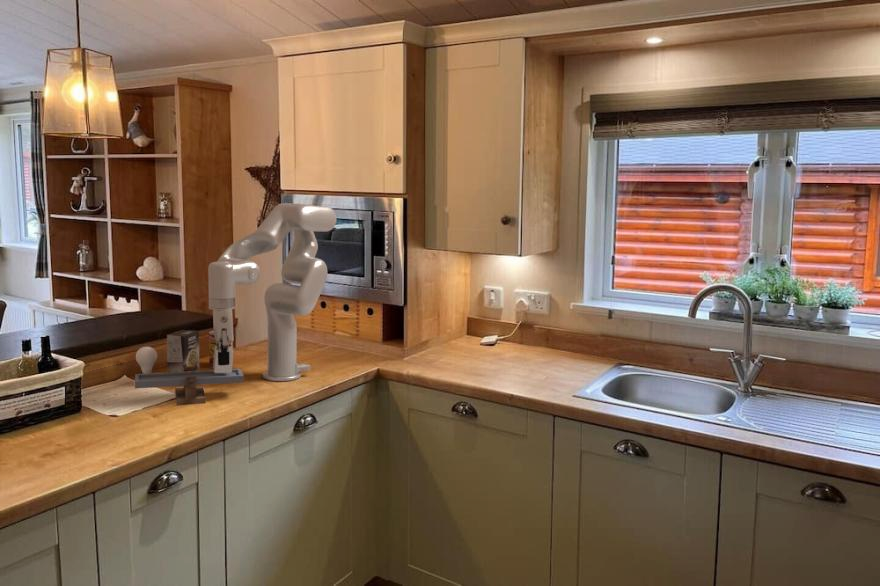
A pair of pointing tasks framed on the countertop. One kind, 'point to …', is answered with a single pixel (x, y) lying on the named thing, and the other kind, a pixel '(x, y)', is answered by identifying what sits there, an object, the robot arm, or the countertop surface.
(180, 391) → the fulcrum stand
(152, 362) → the lightbulb
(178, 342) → the coffee box
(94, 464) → the countertop surface
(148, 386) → the beam
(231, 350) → the rider
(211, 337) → the canned food
